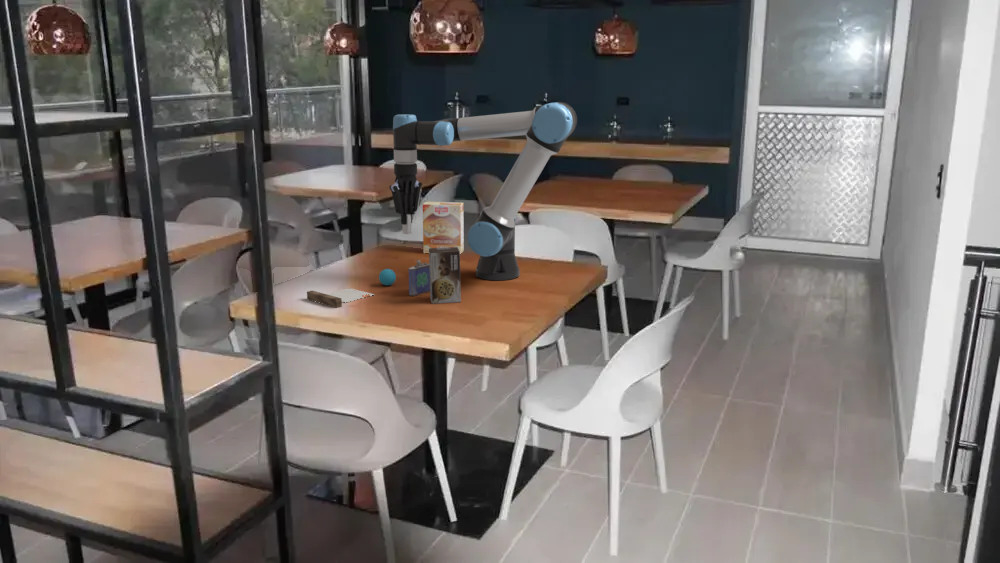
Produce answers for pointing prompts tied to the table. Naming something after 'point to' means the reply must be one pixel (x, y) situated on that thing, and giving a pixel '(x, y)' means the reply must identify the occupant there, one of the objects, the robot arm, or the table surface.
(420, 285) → the flask
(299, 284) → the table surface
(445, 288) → the cookie box
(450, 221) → the coffeecake box
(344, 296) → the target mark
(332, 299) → the strip
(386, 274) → the ball
